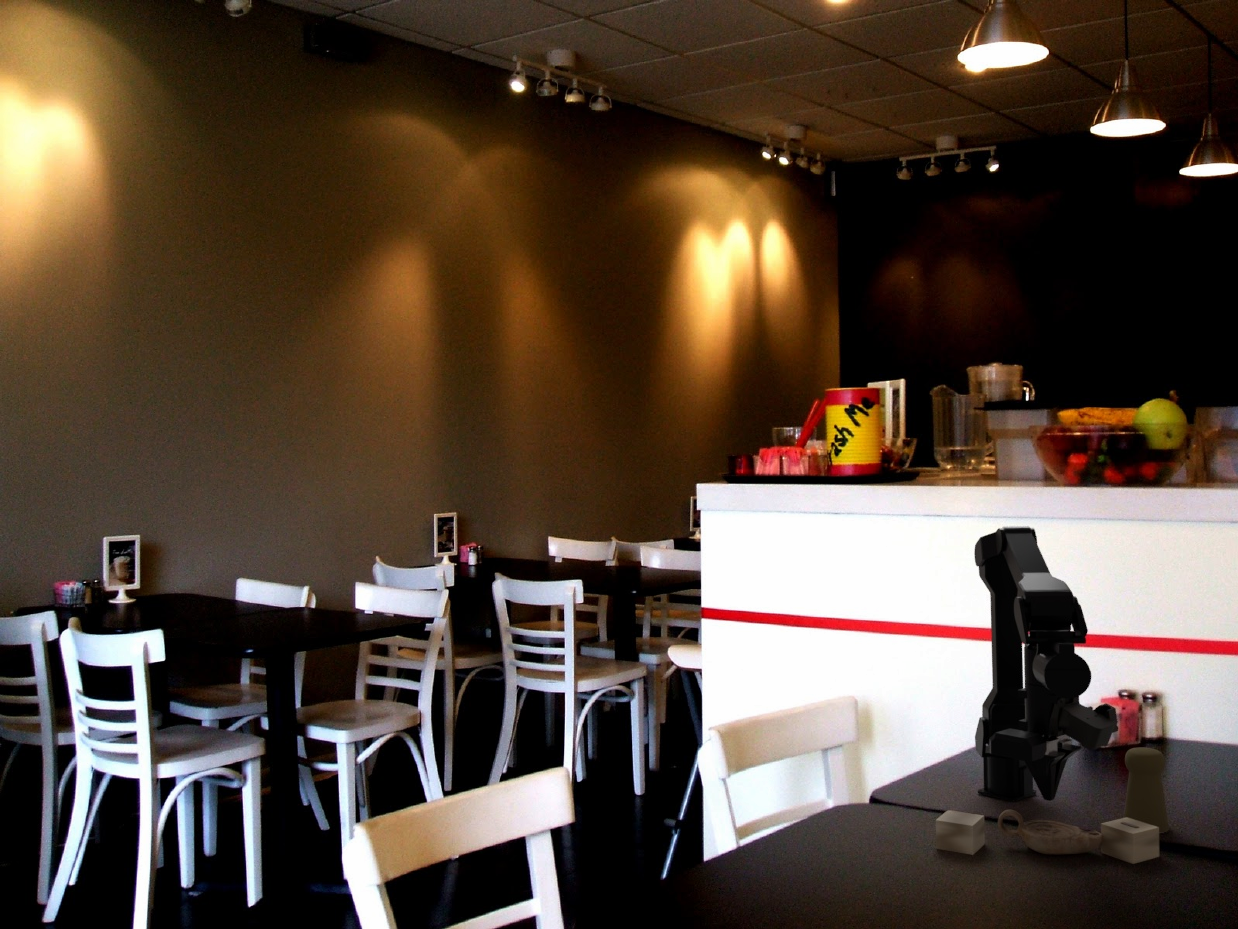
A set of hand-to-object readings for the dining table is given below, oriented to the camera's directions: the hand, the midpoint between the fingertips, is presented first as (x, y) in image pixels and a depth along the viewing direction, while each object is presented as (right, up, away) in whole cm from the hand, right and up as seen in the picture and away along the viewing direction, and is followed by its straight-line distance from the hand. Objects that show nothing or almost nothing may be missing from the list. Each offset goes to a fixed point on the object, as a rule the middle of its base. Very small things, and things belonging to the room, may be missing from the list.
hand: (1049, 799), depth 164 cm
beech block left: (-11, -7, +3) cm, 13 cm away
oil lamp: (0, -7, 0) cm, 7 cm away
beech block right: (+10, -7, -2) cm, 12 cm away
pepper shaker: (+17, -6, +9) cm, 20 cm away
